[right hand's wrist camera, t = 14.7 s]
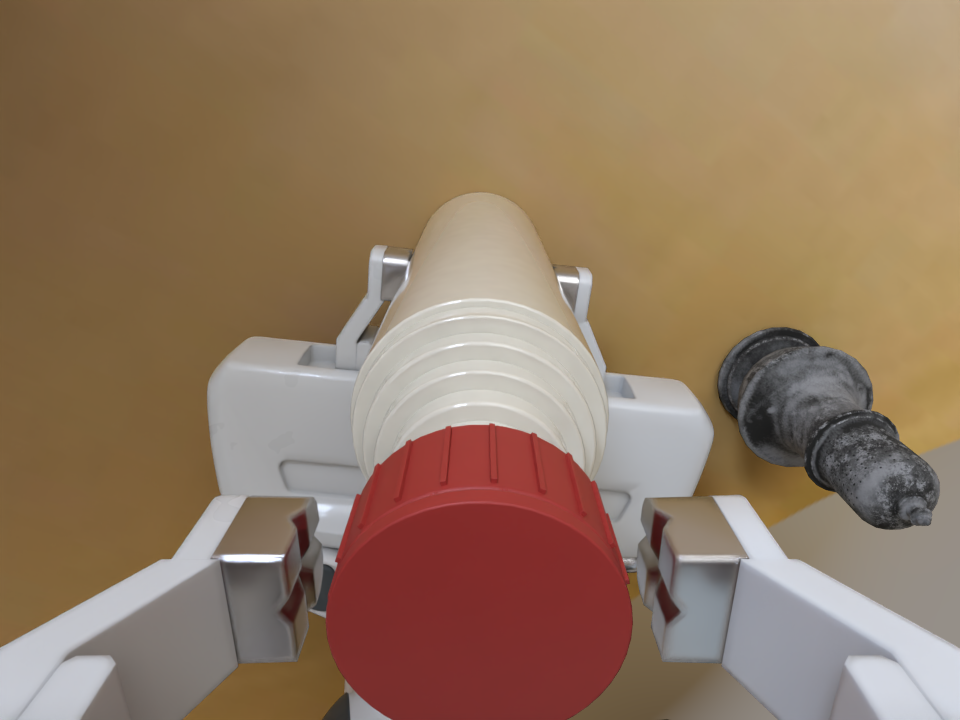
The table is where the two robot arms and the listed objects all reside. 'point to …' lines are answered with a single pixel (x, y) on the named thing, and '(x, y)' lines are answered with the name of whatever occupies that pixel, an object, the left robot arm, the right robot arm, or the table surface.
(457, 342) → the bottle
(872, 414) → the grey stepped cylinder
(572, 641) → the cap
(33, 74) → the table surface
